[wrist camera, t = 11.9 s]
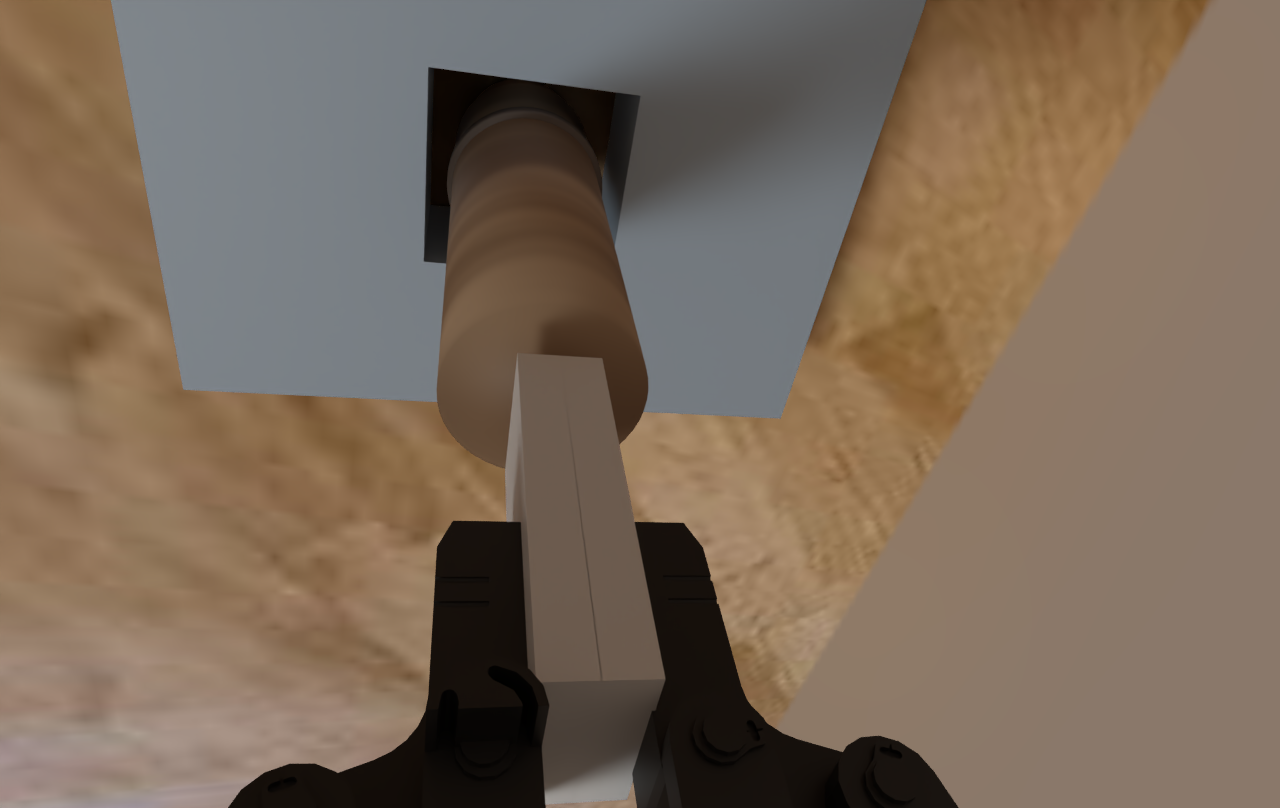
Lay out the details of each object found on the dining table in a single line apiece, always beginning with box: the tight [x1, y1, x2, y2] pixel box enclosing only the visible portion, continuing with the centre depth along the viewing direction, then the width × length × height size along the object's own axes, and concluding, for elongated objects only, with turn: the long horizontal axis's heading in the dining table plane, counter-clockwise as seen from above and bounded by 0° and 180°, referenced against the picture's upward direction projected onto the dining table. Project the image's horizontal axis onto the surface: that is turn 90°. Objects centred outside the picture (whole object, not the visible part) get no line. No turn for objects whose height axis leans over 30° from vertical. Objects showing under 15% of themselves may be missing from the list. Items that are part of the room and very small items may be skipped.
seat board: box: [111, 0, 926, 418], centre depth 25 cm, size 16×20×4 cm
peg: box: [437, 79, 648, 468], centre depth 21 cm, size 4×4×14 cm
